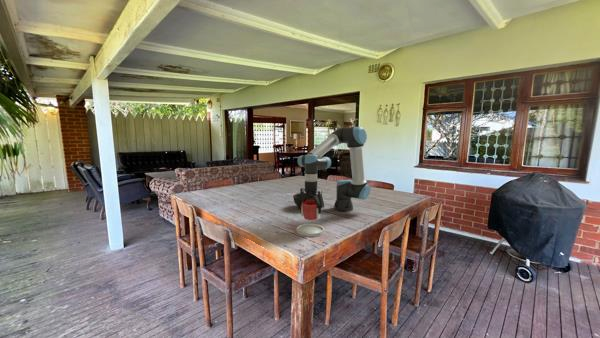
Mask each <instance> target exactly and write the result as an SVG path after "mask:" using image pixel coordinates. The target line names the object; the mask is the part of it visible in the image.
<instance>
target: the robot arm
mask: <svg viewBox="0 0 600 338" xmlns="http://www.w3.org/2000/svg"><path fill="white" fill-rule="evenodd" d="M367 136H368V135H367V132H366V130H365V129H364V128H363V127H361V126H343V127H340V128H338V129H337V128H336V129H335V130H334V131H333V132H331V133H330V134H328V135H327V138H325V139H324V140H323V141H322V142H321V143H319V144H318V145H316V146H315V147H314V148H313V149H311V151H309V152H307V154H305V155H300V156H298V158H297V164H298V166H299V167H301V168H302V167H303V168H304V187H301V188H300V190H299V191H300V192H299V193H300V195H299V199H298V204H300V207H299V208H300V211H301V214H300V215H301V216H302V217H304V214H303V208H302V202H305V201H306V199H307V197H308V196H311V197H313V198H314V200H315V202H316V204H317V207H318V208H317V219H316V220H319V219H321V213H322V209H323V208H325V202H324V198H323V190H318V170H319V171H321V170H327V169H329V168H330V167H331V166H332V160H331V158H330V157H328V156H324V155H325V154H326V153H328V152H329V151H330V150H331V149H333V148H334V147H336V146H338V145H340V144H346V146H347V148H348V149H349V155H350V156H349V157H350V158H349V159H350V167H351V176H352V178H351V179H340V180H337V181H336V196H335V197H336V199H335V202H334V205H333V209H334V210H335V211H338V212H351V211H354V205H353V201H352V199H357V200H367V199H368V198H369V196H370V194H371V189H372V188H371V186H370V184H368V182H367V179H365V170H364V159H363V158H364V157H363V147H364V146H365V144H366V142H367V139H368V137H367ZM304 193H305V195H304ZM317 194H318V197H317ZM303 195H304V198H303ZM302 198H303V199H302ZM318 198H319V199H318Z"/></svg>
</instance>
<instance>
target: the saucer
mask: <svg viewBox="0 0 600 338" xmlns="http://www.w3.org/2000/svg"><path fill="white" fill-rule="evenodd" d="M296 233H297V234H298V235H300V236H303V237H312V238H313V237H315V238H316V237H320V236H323V234H325V227H324V226H322V225H320V224H318V223H317V224H316V223H303V224H299V225H297V226H296Z"/></svg>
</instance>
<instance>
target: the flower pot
mask: <svg viewBox="0 0 600 338" xmlns="http://www.w3.org/2000/svg"><path fill="white" fill-rule="evenodd" d="M302 208H303V214H304V215H303V218H304V219H305V220H308V221H314V220H318V219H317V208H318V207H317V204H316V202H315V201H312V200H308V201H305V202H302Z"/></svg>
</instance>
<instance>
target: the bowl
mask: <svg viewBox="0 0 600 338" xmlns="http://www.w3.org/2000/svg"><path fill="white" fill-rule="evenodd" d="M305 193H306V192H304V195H305ZM316 194H317V193H316ZM299 195H300V192H299V193H295V194H293V198H292V199H293V202H294V204H295V205H296V206H297V207H298V208H300V204H298V199H299ZM304 195H303V198H304ZM317 197H318V194H317ZM303 198H302V199H303ZM318 199H319V198H318ZM308 200H312V201H315V200H314V198H313V197H311V196H308V197H307V199H306V201H308Z"/></svg>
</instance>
